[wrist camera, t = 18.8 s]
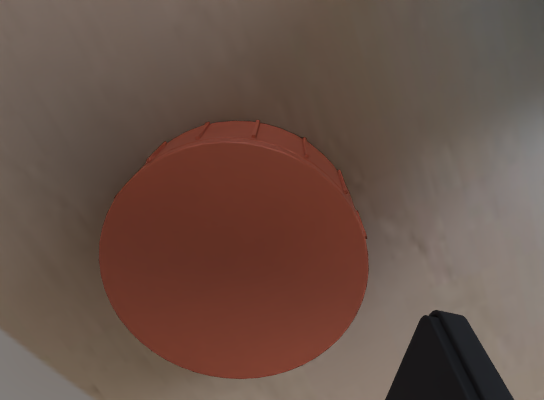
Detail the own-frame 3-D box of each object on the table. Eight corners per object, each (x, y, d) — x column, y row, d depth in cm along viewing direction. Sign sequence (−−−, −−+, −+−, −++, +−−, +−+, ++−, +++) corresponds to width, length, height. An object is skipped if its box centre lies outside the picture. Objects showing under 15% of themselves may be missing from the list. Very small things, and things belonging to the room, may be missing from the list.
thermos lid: (82, 236, 15) (45, 276, 13) (229, 65, 13) (217, 75, 11) (250, 363, 17) (244, 418, 15) (405, 230, 15) (427, 270, 12)
